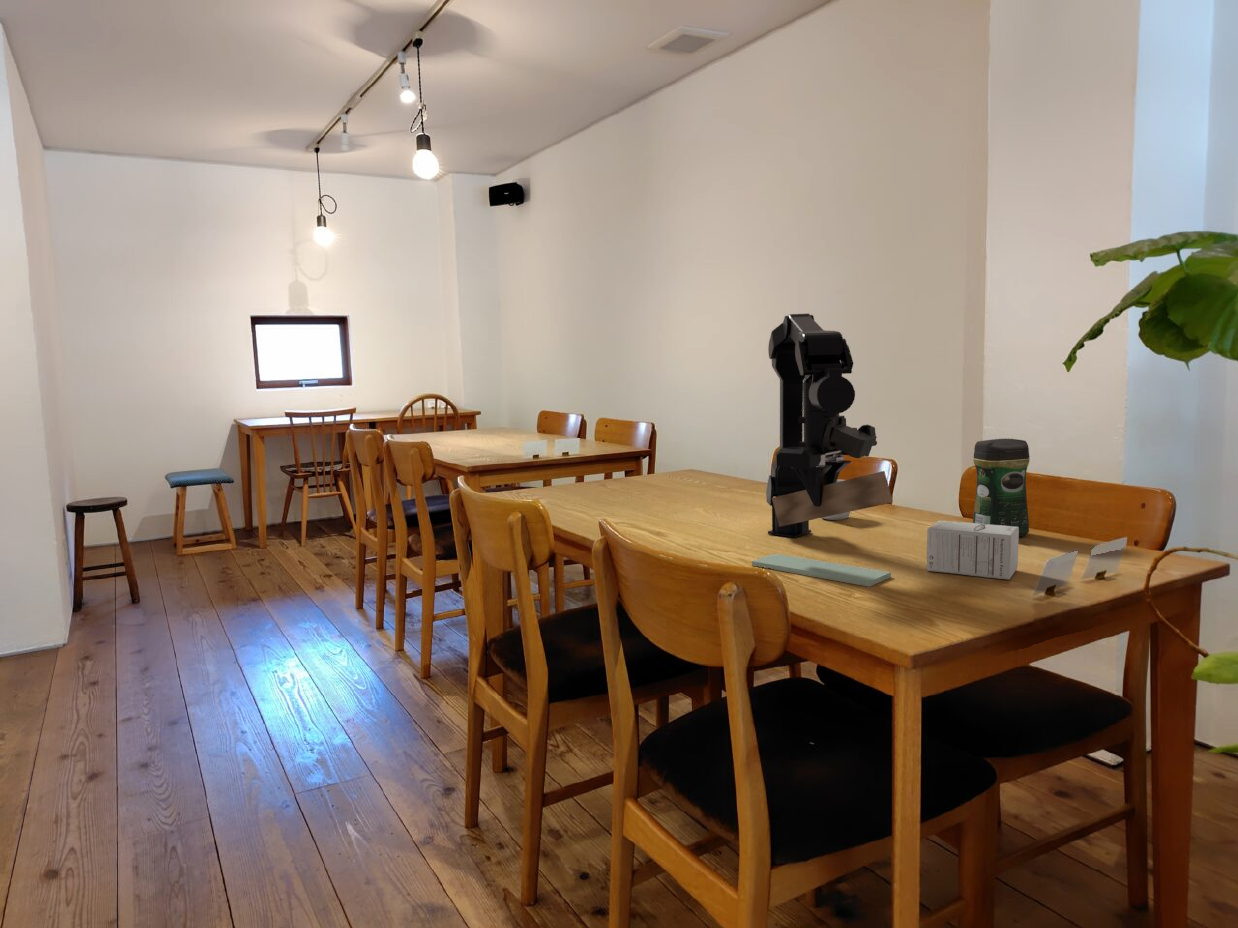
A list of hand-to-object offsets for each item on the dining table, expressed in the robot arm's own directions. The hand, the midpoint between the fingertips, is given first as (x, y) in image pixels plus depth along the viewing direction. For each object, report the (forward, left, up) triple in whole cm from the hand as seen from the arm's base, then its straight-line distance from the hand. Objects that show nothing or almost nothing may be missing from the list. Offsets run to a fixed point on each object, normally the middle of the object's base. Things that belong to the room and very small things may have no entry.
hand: (821, 504), depth 138 cm
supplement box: (+13, +13, -7) cm, 19 cm away
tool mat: (0, 0, -11) cm, 11 cm away
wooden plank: (+2, 0, -1) cm, 3 cm away
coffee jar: (+13, +44, -11) cm, 47 cm away
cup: (-20, +40, -11) cm, 46 cm away
